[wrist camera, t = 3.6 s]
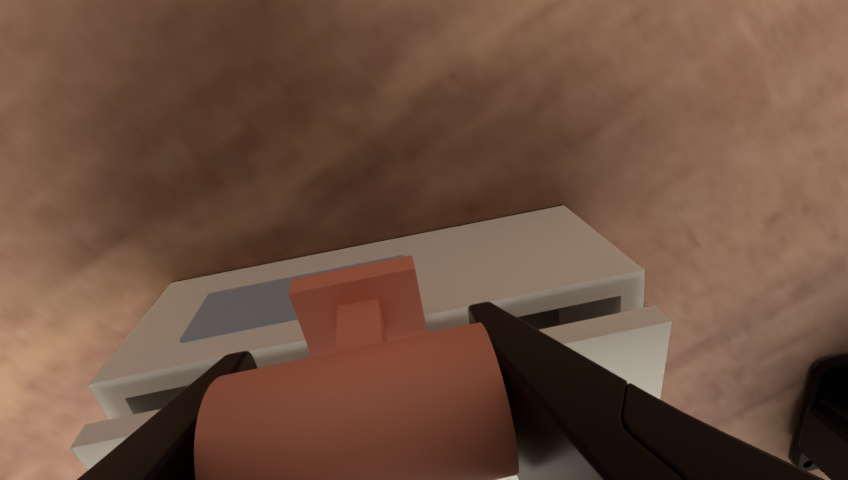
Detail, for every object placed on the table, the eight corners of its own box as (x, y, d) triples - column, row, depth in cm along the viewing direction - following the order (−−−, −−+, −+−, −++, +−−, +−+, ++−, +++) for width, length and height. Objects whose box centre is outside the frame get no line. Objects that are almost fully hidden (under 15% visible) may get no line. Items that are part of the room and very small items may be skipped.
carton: (563, 202, 16) (645, 266, 11) (570, 372, 19) (635, 476, 14) (169, 280, 15) (85, 381, 11) (241, 442, 18) (200, 575, 14)
